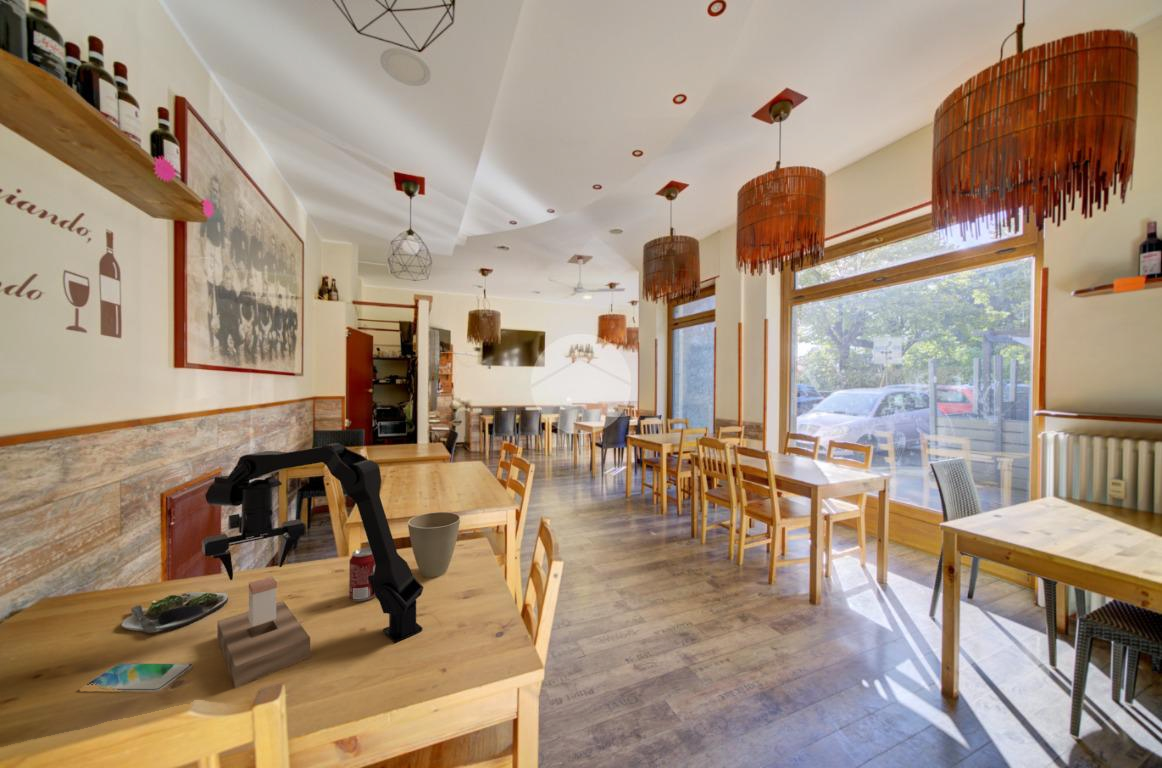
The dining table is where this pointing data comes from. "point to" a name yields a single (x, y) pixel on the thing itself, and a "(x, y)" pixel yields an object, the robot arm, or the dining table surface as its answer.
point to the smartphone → (141, 676)
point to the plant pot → (433, 541)
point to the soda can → (361, 575)
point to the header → (261, 644)
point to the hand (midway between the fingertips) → (256, 572)
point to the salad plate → (174, 612)
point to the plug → (262, 600)
